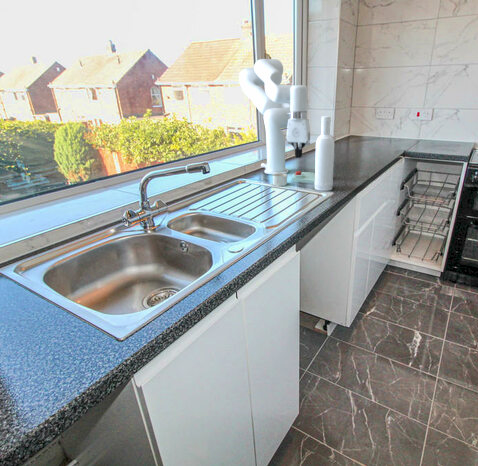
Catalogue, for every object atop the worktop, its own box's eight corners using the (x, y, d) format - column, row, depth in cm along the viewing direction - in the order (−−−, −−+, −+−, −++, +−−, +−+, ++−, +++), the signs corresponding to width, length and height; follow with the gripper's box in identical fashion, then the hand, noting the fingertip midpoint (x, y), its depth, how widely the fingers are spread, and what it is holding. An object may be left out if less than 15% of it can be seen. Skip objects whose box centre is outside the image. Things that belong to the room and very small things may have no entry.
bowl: (270, 185, 150) (270, 175, 148) (276, 182, 155) (276, 172, 153) (283, 187, 147) (283, 177, 145) (289, 183, 153) (289, 173, 151)
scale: (290, 181, 156) (290, 175, 155) (301, 174, 168) (301, 169, 167) (324, 185, 150) (324, 178, 149) (333, 177, 161) (333, 171, 160)
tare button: (294, 175, 156) (294, 172, 155) (296, 174, 158) (296, 171, 157) (299, 175, 155) (299, 172, 154) (301, 174, 157) (302, 171, 156)
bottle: (335, 190, 141) (339, 116, 129) (317, 191, 140) (320, 117, 128) (328, 185, 149) (331, 115, 136) (312, 186, 147) (313, 115, 135)
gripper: (279, 116, 145) (280, 157, 153) (311, 116, 140) (310, 160, 147) (286, 114, 152) (287, 155, 159) (317, 115, 146) (316, 157, 153)
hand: (298, 157), depth 153 cm, fingers closed
